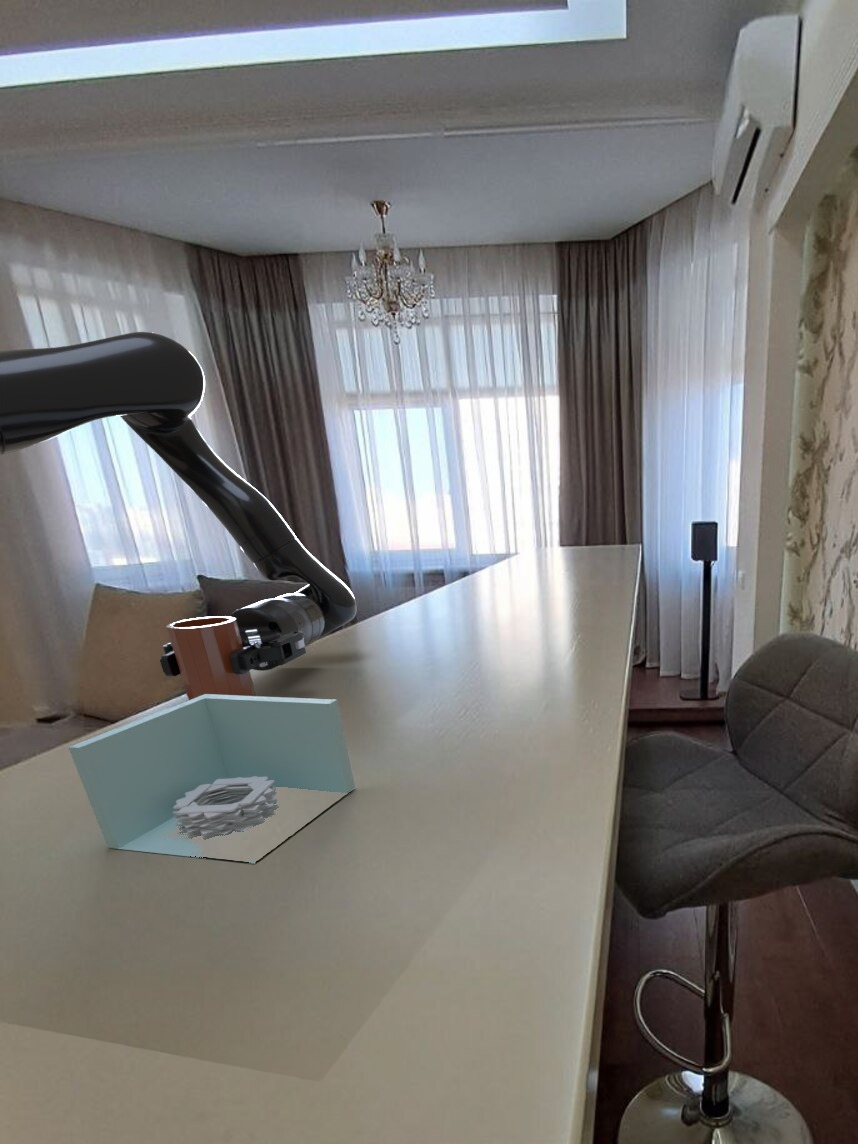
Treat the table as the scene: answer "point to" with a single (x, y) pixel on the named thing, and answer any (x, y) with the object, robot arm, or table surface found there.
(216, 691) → the cup
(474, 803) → the table surface
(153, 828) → the right angle wall
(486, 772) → the table surface
